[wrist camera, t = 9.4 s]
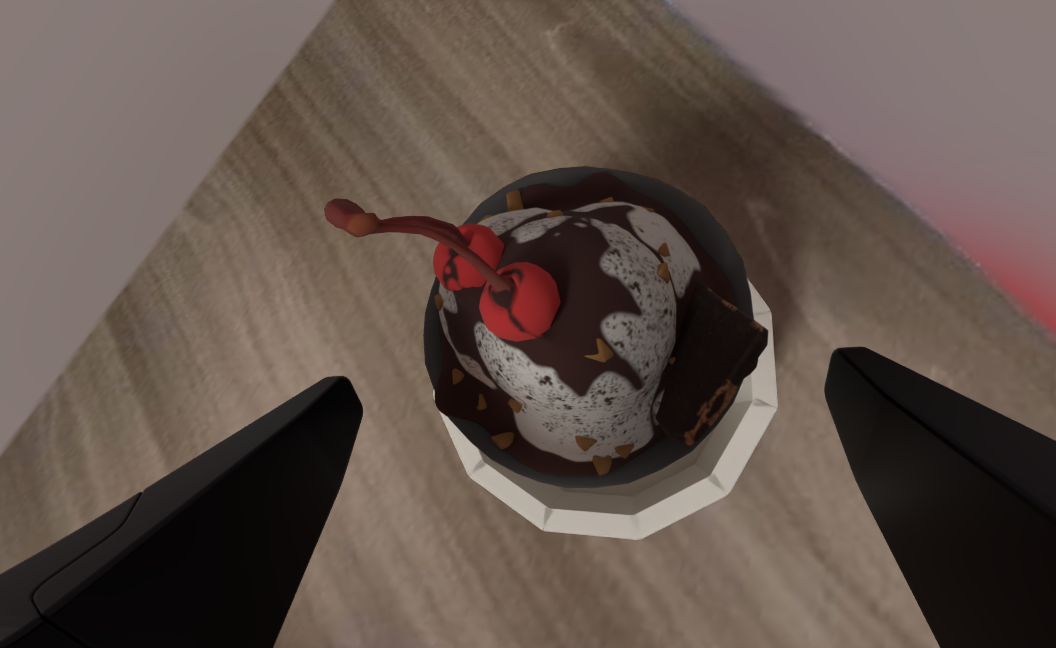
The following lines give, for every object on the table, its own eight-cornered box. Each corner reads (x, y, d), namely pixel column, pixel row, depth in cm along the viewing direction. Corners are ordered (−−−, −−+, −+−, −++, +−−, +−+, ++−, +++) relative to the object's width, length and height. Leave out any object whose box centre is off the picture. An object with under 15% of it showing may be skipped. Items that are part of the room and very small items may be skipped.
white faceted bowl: (736, 235, 19) (763, 190, 15) (752, 522, 17) (787, 554, 13) (479, 247, 22) (447, 211, 18) (464, 499, 19) (423, 519, 16)
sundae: (498, 337, 20) (165, 140, 6) (634, 261, 19) (645, -177, 5) (568, 479, 18) (339, 716, 4) (720, 401, 18) (1125, 338, 3)
